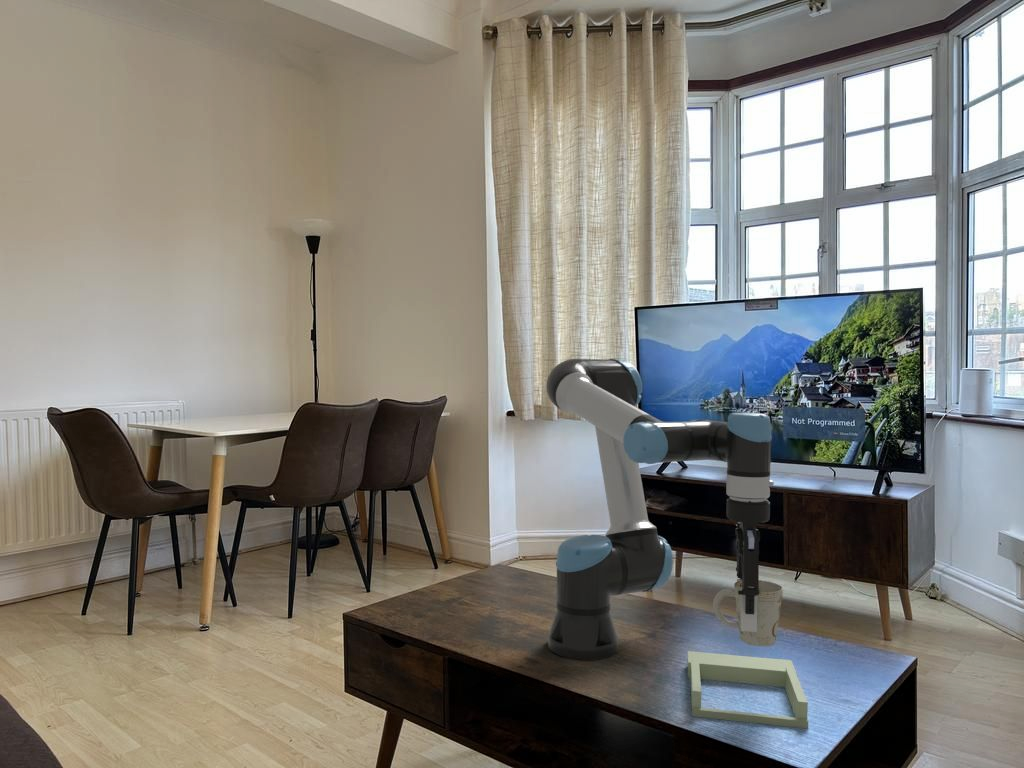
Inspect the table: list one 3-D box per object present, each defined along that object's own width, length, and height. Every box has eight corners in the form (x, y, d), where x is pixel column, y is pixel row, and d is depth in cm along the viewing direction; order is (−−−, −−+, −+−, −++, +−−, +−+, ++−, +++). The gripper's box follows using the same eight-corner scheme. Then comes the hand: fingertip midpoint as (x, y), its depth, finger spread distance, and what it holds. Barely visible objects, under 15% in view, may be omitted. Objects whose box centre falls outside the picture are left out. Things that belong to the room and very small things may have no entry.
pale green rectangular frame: (689, 715, 129) (689, 693, 129) (687, 665, 151) (687, 646, 151) (811, 728, 125) (811, 705, 125) (791, 675, 147) (791, 655, 147)
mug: (776, 652, 129) (776, 594, 129) (704, 638, 136) (705, 583, 136) (786, 638, 136) (787, 584, 136) (718, 626, 143) (719, 574, 143)
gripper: (777, 509, 124) (775, 645, 124) (763, 490, 144) (761, 606, 145) (730, 507, 125) (728, 641, 126) (723, 488, 146) (721, 603, 146)
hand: (746, 622), depth 135 cm, fingers closed on mug, 8 cm apart
